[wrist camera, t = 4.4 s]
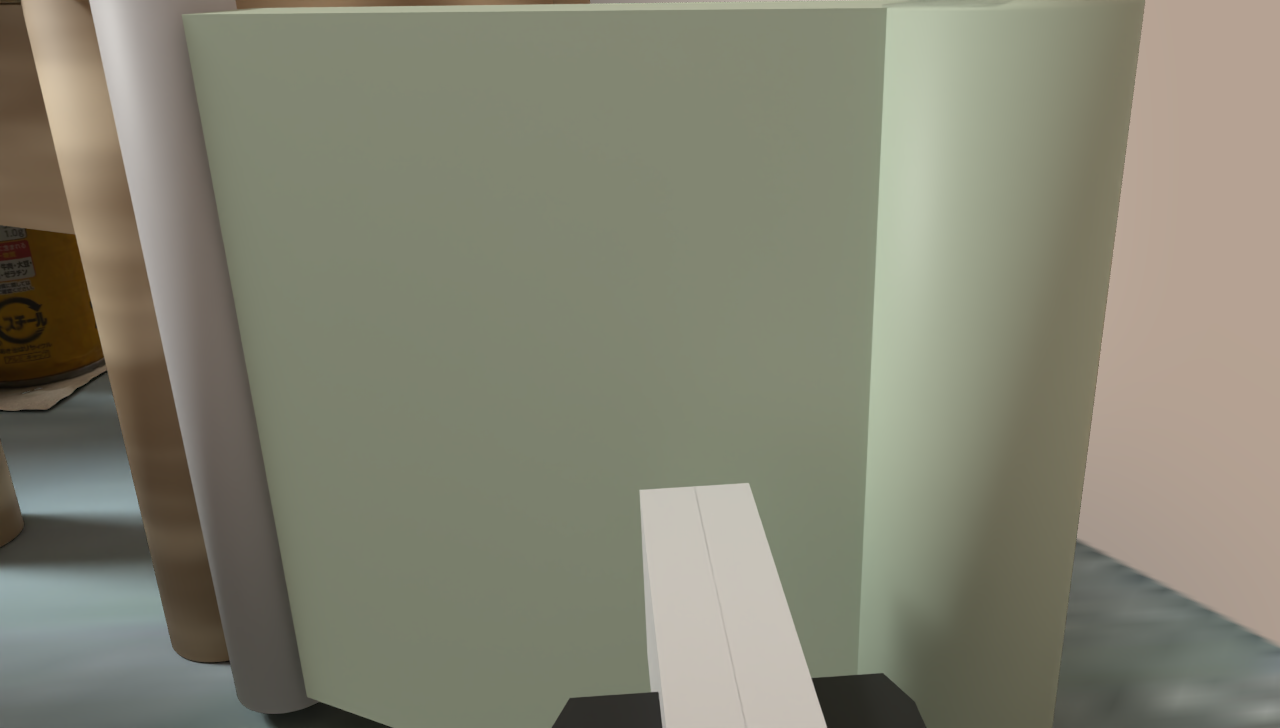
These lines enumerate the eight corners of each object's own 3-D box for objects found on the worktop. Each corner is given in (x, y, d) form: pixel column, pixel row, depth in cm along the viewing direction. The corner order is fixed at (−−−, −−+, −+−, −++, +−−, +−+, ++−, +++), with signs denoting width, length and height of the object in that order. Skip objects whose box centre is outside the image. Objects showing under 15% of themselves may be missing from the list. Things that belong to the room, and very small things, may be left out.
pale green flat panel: (202, 703, 24) (39, -13, 18) (299, 630, 26) (180, -21, 21) (1009, 1011, 16) (1142, -43, 11) (1038, 867, 19) (1158, -50, 13)
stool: (232, 674, 26) (52, -167, 19) (-114, 551, 32) (-340, -118, 25) (623, 378, 42) (600, -127, 35) (346, 334, 48) (283, -103, 42)
